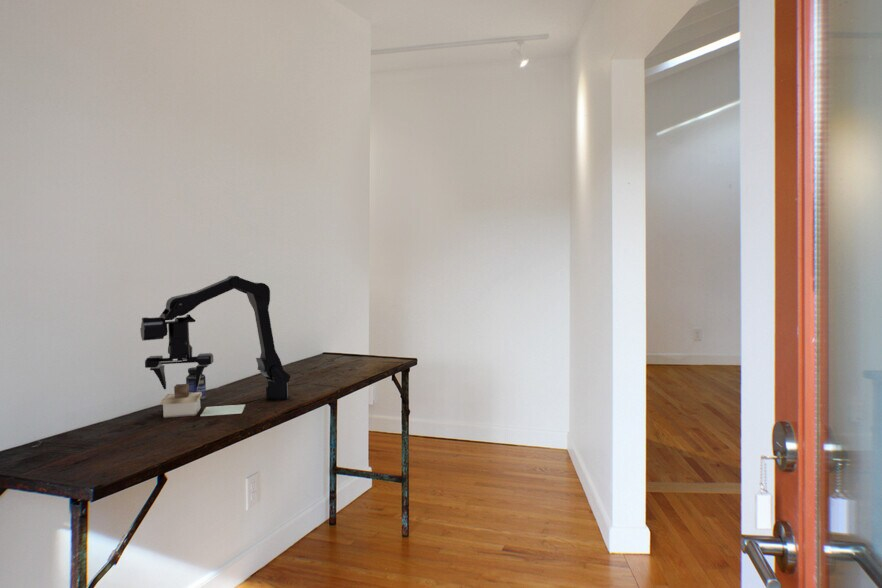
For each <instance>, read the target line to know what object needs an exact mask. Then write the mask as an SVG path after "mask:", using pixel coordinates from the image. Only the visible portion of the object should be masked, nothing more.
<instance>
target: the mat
mask: <svg viewBox="0 0 882 588" xmlns="http://www.w3.org/2000/svg"><path fill="white" fill-rule="evenodd" d="M245 407H246V404H233V405H231V404H230V405H229V404H228V405H219V406H218V405H217V406H216V405H215V406H206V407H204V409H203V411H202V413H201V414H200V417H209V416H225V415H236V414H237V415H238V414H242V413H243V411H244V410H245Z"/></svg>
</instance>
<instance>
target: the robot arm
mask: <svg viewBox="0 0 882 588" xmlns="http://www.w3.org/2000/svg"><path fill="white" fill-rule="evenodd" d="M232 290H236V291H237V292H238V291H239V292H241V293H243V294H246V296H247V299H248V302H249V303H250V305H251V307H252V309H253V311H254V318H255V322H256V327H257V335H258V339H259V346H260V352H261V353H260V356H259V357H256V358H255V359H256V363H257V370H258V371H259V372H260V374H261V375H262V376H264V377H265V380H266V381H267V385H266V386H265V391H266V392H265V395H266V398H265V399H266V400H267V402H274V401H277V402H278V401H287V400H289V394H288V393H289V391H288V389H289V388H288V383H289V382H290V379H291V375H290V374H289V373H288V372H286V371H285V370H284V366H283V364H282V361H281V359H280V357H279V355H278V353H277V351H276V347H275V342H274V336H273V330H272V329H273V328H272V323H271V319H270V310H269V306H270V302H271V289H270V287H269V285H267V284H266V283H263V282H254V281H252V280H251V281H250V280H248V279H244V278H242V277H240V276H238V275H229V276H227V277H226V278H224V279H221V280H219V281H216V282H214V283H212V284H210V285H207V286H205V287H203V288H201V289H198V290H196V291H193V292H188V293H183V294H179V295H176V296H175V295H174V296H171V297H170V298H168V299H167V300H166V302H165V303H166V304H165V309H164V310H163V311H162V312H161V314H160V315H159V316H157V317H147V316H146V317H142V318H141V323H140V324H141V325H140V329H139V330H140V338H141V340H142V342H143V341H155V340H164V338H165V337H166V336H168V347H167V353H168V354H169V357H164V356H163V355H150V356H148V357H146V359H145V361H144V367H145V368H146V369H148V368H149V370H150V371H153V372H154V375H156V377H157V378H158V381H159V382H160V384H161V386H162V389H163V390H167V381H166V375H165V365H169V364H170V365H172V364H173V365H174V364H191V363H192V364H193V363H197V364H198V365H197V366H196V388H197V387H198V385H199V382H200V378H201V375H202V374H203V373H204V371H205V369H206V368H207V367H208V366H210V365H212V364H213V363H214V354H213V353H211V352H209V353H206V352H205V353H199V354H198V355H196V356H193V346H192V345H191V344H190V332H189V331H190V329H189V327H190V326H189V324H190V323H195V322H196V319H195V318H193V317H192V316H191V314H188V313H190V312H191V311H193V310H194V309H196V308H197V307H198V306H199V305H200V304H202V303H204V302H206V301H209V300H211V299H213V298H216V297H218V296H221V295H223V294H225V293H228V292H229V291H232Z"/></svg>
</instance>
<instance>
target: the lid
mask: <svg viewBox="0 0 882 588" xmlns="http://www.w3.org/2000/svg"><path fill="white" fill-rule="evenodd" d="M173 389H174V391H173V392H174V393H169V394H166V395H165V396H164V397H163V398H162V399H161V401H160V405H161V406H163V404H177V403H192V402H197V401H198V400H199V398H200V397H201V396H202V392H195V393H189V384H186V383H182V384H175V386H173Z"/></svg>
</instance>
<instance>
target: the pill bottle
mask: <svg viewBox="0 0 882 588" xmlns="http://www.w3.org/2000/svg"><path fill="white" fill-rule="evenodd" d="M187 373H188V375H187V376H186V377H185V384H189V393H195V392H202V396H201V397H200V402H201V401H205V400H206V399H207V388H206V387H207V386H206V384H207V383H206V374H203V373H202V375H201V378H200V382H199V385H198V387H197V388H196V367H195V366H194V367H189V368H187Z"/></svg>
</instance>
